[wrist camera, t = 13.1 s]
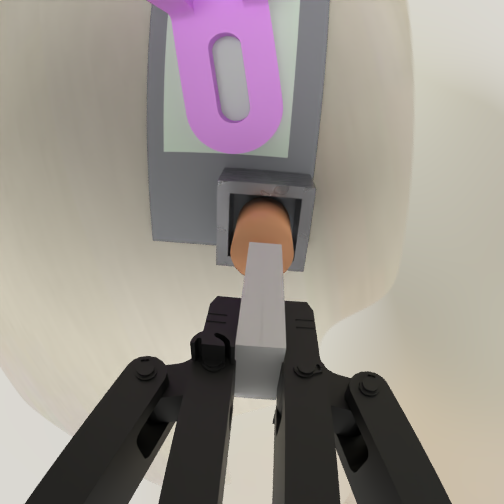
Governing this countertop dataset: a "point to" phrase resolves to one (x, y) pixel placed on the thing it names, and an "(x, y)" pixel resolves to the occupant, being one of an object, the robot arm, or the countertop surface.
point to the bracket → (204, 77)
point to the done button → (262, 230)
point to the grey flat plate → (234, 108)
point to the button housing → (266, 186)
